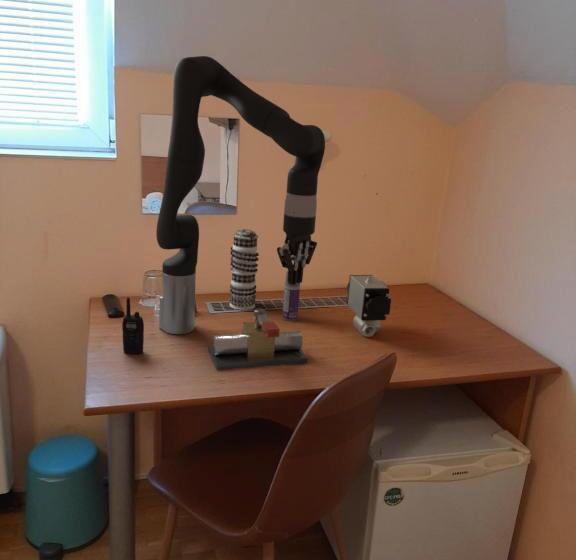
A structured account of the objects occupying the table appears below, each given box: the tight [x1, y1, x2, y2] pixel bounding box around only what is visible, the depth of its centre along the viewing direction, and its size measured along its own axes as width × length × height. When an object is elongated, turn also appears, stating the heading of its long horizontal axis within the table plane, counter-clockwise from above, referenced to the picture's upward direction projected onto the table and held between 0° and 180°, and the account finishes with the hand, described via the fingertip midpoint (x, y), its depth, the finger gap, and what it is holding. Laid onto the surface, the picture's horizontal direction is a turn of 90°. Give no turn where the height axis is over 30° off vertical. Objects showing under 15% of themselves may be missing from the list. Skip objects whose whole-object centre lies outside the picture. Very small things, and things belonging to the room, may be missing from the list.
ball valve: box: [346, 274, 392, 338], centre depth 175 cm, size 18×8×18 cm, turn 14°
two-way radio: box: [121, 297, 145, 355], centre depth 151 cm, size 6×4×15 cm
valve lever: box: [253, 308, 281, 338], centre depth 147 cm, size 14×3×2 cm, turn 18°
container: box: [282, 270, 301, 322], centre depth 182 cm, size 5×5×15 cm
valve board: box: [207, 319, 309, 371], centre depth 154 cm, size 24×12×11 cm, turn 107°
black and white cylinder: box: [228, 228, 260, 311], centre depth 189 cm, size 9×9×25 cm
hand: (294, 283), depth 143 cm, fingers closed
